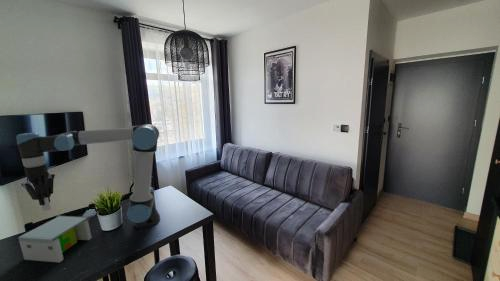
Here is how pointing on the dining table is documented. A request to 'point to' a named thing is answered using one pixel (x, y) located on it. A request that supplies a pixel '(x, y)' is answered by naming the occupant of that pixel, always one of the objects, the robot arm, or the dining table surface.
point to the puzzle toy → (67, 239)
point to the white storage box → (52, 245)
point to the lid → (52, 229)
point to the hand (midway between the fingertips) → (46, 209)
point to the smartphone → (89, 213)
